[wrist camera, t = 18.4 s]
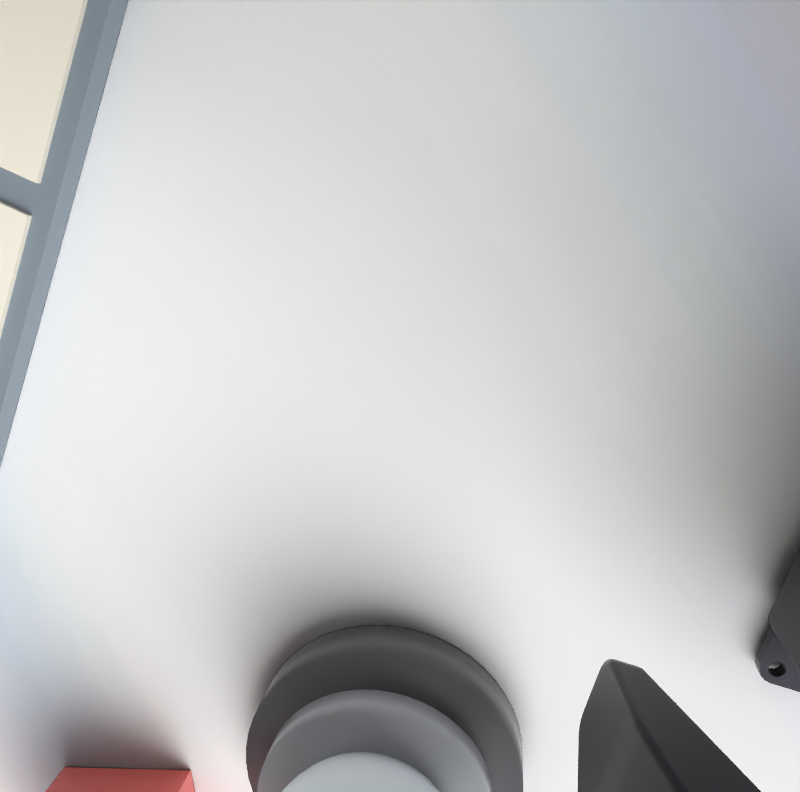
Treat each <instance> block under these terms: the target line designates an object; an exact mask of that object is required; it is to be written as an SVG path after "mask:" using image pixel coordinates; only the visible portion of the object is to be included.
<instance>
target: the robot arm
mask: <svg viewBox="0 0 800 792" xmlns="http://www.w3.org/2000/svg"><path fill="white" fill-rule="evenodd" d="M768 621H769V623H770V627H769V629H768V632H767V634H766V636H765V638H764V640H763V642H762V645H761V647H760V649H759V651H758V653H757V655H756V659H755V664H756V667H757V669H758V671H759V673H760V675H761V676H762V677H763V679H764V680H766V681H768V682H769V683H772V684H775V685H779V686H782V687H785V688H788V689H792V690H795V691H798V692H800V549H799V552H798V554H797V556H796V558H795V560H794V562H793V565H792V567H791V569H790V571H789V573H788V575H787V578H786V580H785V582H784V584H783V586H782V588H781V591H780V593H779V595H778V597H777V599H776V601H775V603H774V606H773V608H772V610H771V612H770V614H769V617H768ZM774 662H781V665H780V666H779V667H777V668H774V669H773V668H768V667H769V666H770V664H771V663H774ZM578 792H761V791H760V790H759V789H758V788H757V787H756V786H755V785H754V784H753V783H752V782H751V781H750V780H749V779H748V778H747V777H746V776H745V775H744V774H743V773H742V772H741V770H740V769H739V768H738V767H737V766H736V765H735V764H734V763H733V762H732V761H731V760H730V759H729V758H728V757H727V756H726V755H725V754H724V753H723V752H722V751H721V750H720V749H719V748H718V747H717V746H716V745H715V744H714V743H713V741H712V740H711V739H710V738H709V737H708V736H707V735H706V734H705V733H704V732H703V731H702V730H701V729H700V728H699V727H698V726H697V725H696V724H695V723H694V722H693V721H692V720H691V719H690V718H689V717H688V716H687V715H686V714H685V712H684V711H683V710H682V709H681V708H680V707H679V706H678V705H677V704H676V703H675V702H674V701H673V700H672V699H671V698H670V697H669V696H668V695H667V694H666V693H665V692H664V691H663V690H662V689H661V688H660V687H659V686H658V685H657V683H656V682H655V681H654V680H653V679H652V678H651V677H650V676H649V675H648V674H647V673H646V672H645V671H644V670H643V669H642V668H640V667H637V666H634V665H631V664H628V663H624V662H621V661H618V660H614V659H609V660H607V661H605V662H604V664H603V665H602V667H601V669H600V671H599V674H598V676H597V679H596V681H595V684H594V686H593V689H592V692H591V694H590V697H589V699H588V702H587V704H586V707H585V709H584V712H583V715H582V719H581V723H580V729H579V754H578Z"/></svg>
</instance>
